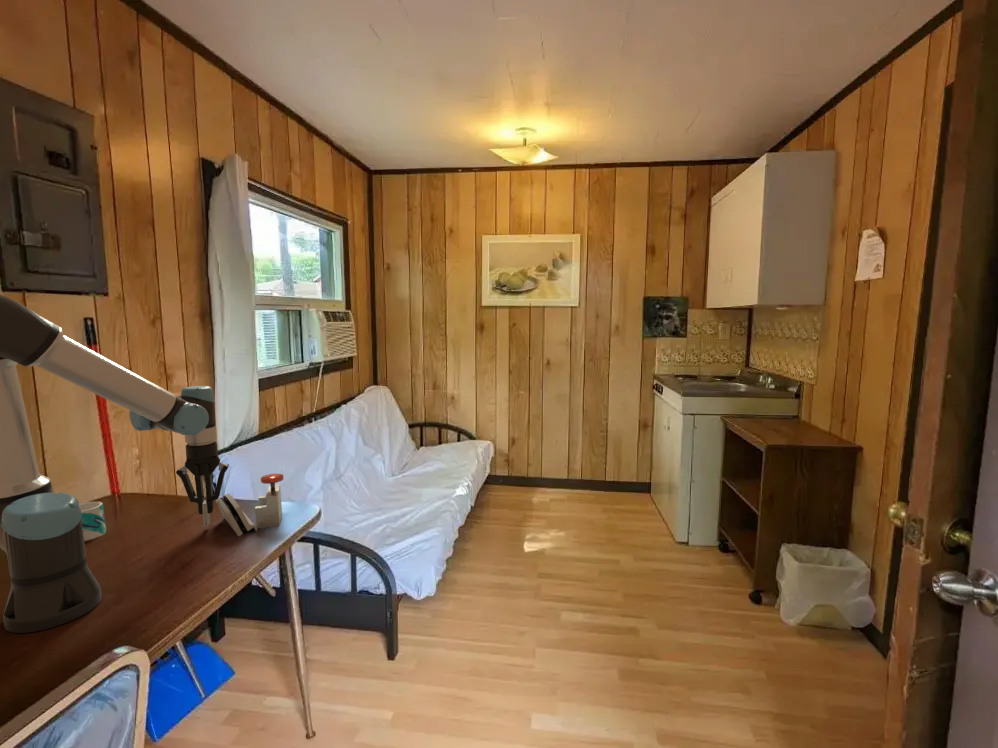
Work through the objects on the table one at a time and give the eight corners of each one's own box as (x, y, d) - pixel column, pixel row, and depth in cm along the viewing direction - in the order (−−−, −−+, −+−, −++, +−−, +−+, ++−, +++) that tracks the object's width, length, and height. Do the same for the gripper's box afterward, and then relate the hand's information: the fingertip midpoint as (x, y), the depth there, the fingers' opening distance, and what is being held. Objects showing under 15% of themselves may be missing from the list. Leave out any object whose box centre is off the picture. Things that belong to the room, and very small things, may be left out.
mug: (66, 544, 136) (63, 514, 135) (70, 529, 145) (66, 501, 144) (105, 536, 141) (102, 507, 140) (106, 522, 150) (103, 495, 149)
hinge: (258, 530, 142) (242, 501, 139) (241, 541, 139) (224, 511, 136) (243, 513, 155) (228, 485, 152) (227, 522, 152) (211, 494, 149)
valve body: (285, 524, 146) (282, 480, 144) (256, 529, 143) (252, 484, 142) (287, 512, 155) (284, 470, 154) (260, 515, 153) (257, 473, 151)
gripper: (228, 437, 146) (233, 516, 149) (178, 440, 142) (184, 522, 145) (224, 443, 139) (229, 526, 142) (171, 447, 135) (177, 532, 138)
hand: (206, 524), depth 144 cm, fingers closed
